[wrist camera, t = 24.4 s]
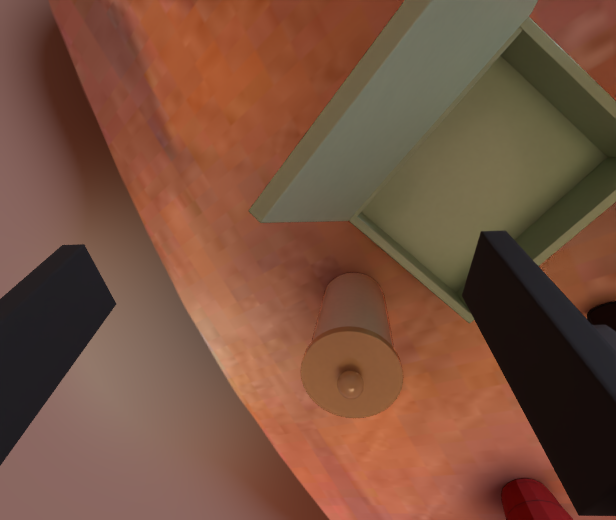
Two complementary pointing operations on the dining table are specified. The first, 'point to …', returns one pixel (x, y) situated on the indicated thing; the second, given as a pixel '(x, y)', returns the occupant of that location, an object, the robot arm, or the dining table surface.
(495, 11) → the box lid
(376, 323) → the canister
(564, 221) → the box
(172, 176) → the dining table surface
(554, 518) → the plastic cup
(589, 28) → the dining table surface
